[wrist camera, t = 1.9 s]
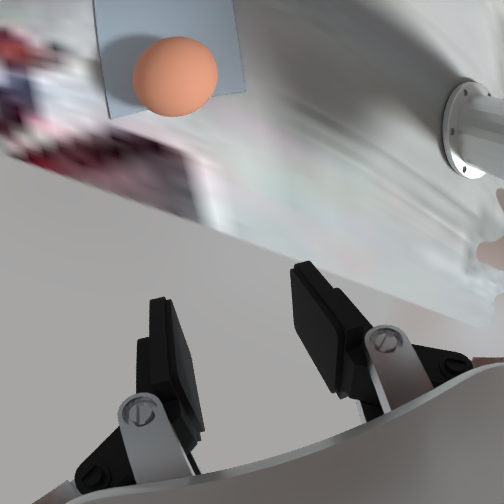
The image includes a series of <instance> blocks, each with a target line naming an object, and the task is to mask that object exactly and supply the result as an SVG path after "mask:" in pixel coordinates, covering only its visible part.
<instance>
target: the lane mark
mask: <svg viewBox="0 0 504 504" xmlns="http://www.w3.org/2000/svg"><path fill="white" fill-rule="evenodd" d="M94 6H95V16H96V26H97V35H98V43H99V50H100V58H101V65H102V71H103V77H104V84H105V89H106V95H107V101H108V106H109V111H110V117H111V119H114V118H118V117H122V116H125V115H129V114H133V113H137V112H140V111H144V110H149V109H147V108H146V107H145V106H144V105H143V104H142V103H141V102H140V101H139V99H138V97H137V96H136V93H135V91H134V87H133V71H134V67H135V64H136V62H137V60H138V59H139V57H140V56H141V54H142V53H143V52H144V51H145V50H146V49H147V48H148V47H149V46H151V45H152V44H154V43H155V42H157V41H159V40H162V39H165V38H169V37H187V38H191V39H194V40H196V41H198V42H200V43H202V44H203V45H204V46H205V47H206V48H207V49H208V50H209V51H210V52H211V53H212V55H213V57H214V59H215V61H216V64H217V68H218V80H217V84H216V87H215V90H214V92H213V94H212V95H211V97H212V96H218V95H225V94H231V93H238V92H246V89H245V83H244V76H243V69H242V62H241V55H240V48H239V42H238V35H237V28H236V22H235V15H234V9H233V2H232V0H94Z"/></svg>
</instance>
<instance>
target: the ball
mask: <svg viewBox="0 0 504 504" xmlns="http://www.w3.org/2000/svg"><path fill="white" fill-rule="evenodd" d="M217 80H218V68H217V64H216V61H215V59H214V57H213V55H212V53H211V52H210V51H209V50H208V49H207V48H206V47H205V46H204V45H203V44H202V43H200V42H198V41H196V40H194V39H191V38H187V37H169V38H165V39H162V40H159V41H157V42H155V43H154V44H152V45H151V46H149V47H148V48H147V49H146V50H145V51H144V52H143V53H142V54H141V56H140V57H139V59H138V60H137V62H136V64H135V67H134V71H133V87H134V91H135V93H136V96H137V97H138V99H139V101H140V102H141V103H142V104H143V105H144V106H145V107H146V108H147V109H149V110H150V111H152V112H154V113H156V114H159V115H162V116H168V117H177V116H183V115H186V114H189V113H192V112H194V111H195V110H197V109H199V108H200V107H201V106H203V105H204V104H205V103H206V102H207V101H208V100H209V98H210V97H211V95H212V94H213V92H214V90H215V87H216V84H217Z"/></svg>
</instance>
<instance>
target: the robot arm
mask: <svg viewBox="0 0 504 504" xmlns="http://www.w3.org/2000/svg"><path fill="white" fill-rule="evenodd" d="M443 143H444V148H445V153H446V156H447V158H448V161H449V163H450V165H451V167H452V168H453V169H454V170H455V172H456V173H458V174H459V175H461V176H463V177H465V178H468V179H477V178H480V177H482V176H483V175H484V174H485V173H488V174H490V175H493V176H495V177H498V178H500V179H502V180H504V99H501V98H495V97H493V95H492V93H491V92H490V91H489V90H488V89H487V88H486V87H485V86H484V85H482V84H480V83H477V82H464V83H462V84H460V85H459V86H458V87H457V88H456V89H454V91H453V92H452V94H451V95H450V97H449V100H448V102H447V104H446V108H445V112H444V118H443ZM290 277H291V289H292V302H293V303H292V304H293V318H294V326H295V329H296V332H297V334H298V335H299V337H300V339H301V341H302V343H303V344H304V346H305V348H306V349H307V351H308V353H309V355H310V357H311V358H312V360H313V362H314V364H315V365H316V367H317V369H318V371H319V372H320V374H321V376H322V378H323V379H324V381H325V383H326V385H327V386H328V388H329V390H330V391H331V393H335V392H336V393H337V395H338V397H339V398H340V399H343V398H345V397H347V396H349V398H352V399H355V400H356V404H357V408H358V411H359V415H360V418H361V422H362V425H360V426H357V427H355V428H353V429H350V430H348V431H345V432H343V433H340V434H338V435H335V436H333V437H330V438H328V439H325V440H323V441H320V442H317V443H314V444H311V445H309V446H306V447H303V448H300V449H297V450H294V451H291V452H287V453H284V454H281V455H278V456H275V457H271V458H268V459H264V460H261V461H257V462H253V463H250V464H246V465H242V466H238V467H234V468H229V469H225V470H221V471H216V472H211V473H207V474H203V473H202V471H201V469H200V467H199V465H198V463H197V461H196V459H195V457H194V455H193V453H192V450H193V449H194V447H195V446H196V445H197V442H198V441H201V436H200V432H203V431H205V428H204V423H203V418H202V413H201V408H200V403H199V397H198V392H197V386H196V381H195V375H194V369H193V363H192V358H191V354H190V351H189V348H188V345H187V343H186V340H185V337H184V334H183V332H182V329H181V326H180V323H179V320H178V317H177V314H176V311H175V308H174V306H173V303H172V300H171V299H169V300H166V298H165V297H161V298H156V299H152V300H150V311H149V312H150V313H149V314H150V315H149V316H150V317H149V337H146V338H142V339H138V341H137V364H136V368H137V369H136V394H134V395H132V396H130V397H128V398H127V399H126V400H124V401H123V402H122V404H121V405H120V407H119V410H118V413H117V414H118V422H119V427H118V428H117V429H116V430H115V431H114V432H113V433H112V434H111V435H110V436H109V437H108V438H107V439H106V440H105V441H104V442H103V443H102V444H101V445H100V446H99V447H98V448H97V449H96V450H95V451H94V452H93V453H92V454H91V455H90V456H89V457H88V458H87V459H86V460H85V461H84V462H83V463H82V464H81V465H80V466H79V467H78V469H77V470H76V473H75V479H74V480H73V481H71V482H70V481H68V480H67V481H65V482H64V483H62V484H61V485H59V486H58V487H57V488H55V489H53V490H52V491H51V492H49V493H48V494H46V495H45V496H43V497H42V498H40V499H39V500H37V501H35V502H34V503H32V504H504V357H502V358H484V357H482V358H481V357H473V359H472V361H470V360H469V359H468V358H467V357H466V356H464V355H463V354H461V353H457V352H452V351H447V350H440V349H435V348H430V347H424V346H419V345H414V344H411V343H410V341H409V339H408V337H407V336H406V334H405V333H404V332H403V331H402V330H401V329H399V328H397V327H395V326H391V325H380V326H376V327H373V326H372V325H371V324H370V323H369V322H368V321H367V319H366V318H365V317H364V316H363V315H362V314H361V312H360V311H359V310H358V309H357V308H356V307H355V305H354V304H353V303H352V302H351V301H350V300H349V298H348V297H347V296H346V295H345V294H344V293H343V292H342V290H340V289H339V288H333V287H332V286H331V285H330V284H329V283H328V281H327V280H326V279H325V278H324V277H323V276H322V275H321V273H320V272H319V271H318V270H317V269H316V267H315V266H314V265H313V264H312V263H311V262H310V261H305V262H301V263H297V264H295V265H294V268H293V269H291V270H290Z"/></svg>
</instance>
